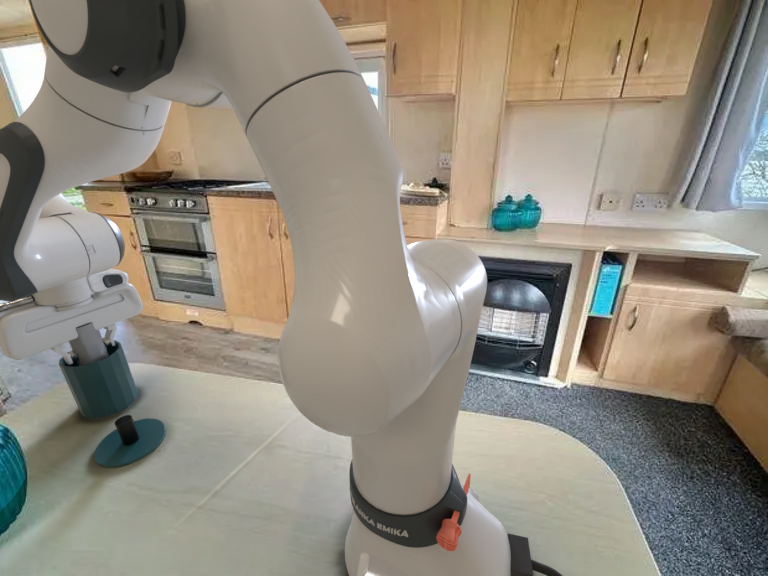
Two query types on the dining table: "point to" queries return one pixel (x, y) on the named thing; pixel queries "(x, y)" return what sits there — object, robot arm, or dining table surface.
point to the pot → (101, 384)
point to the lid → (129, 441)
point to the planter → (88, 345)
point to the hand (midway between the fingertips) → (91, 353)
